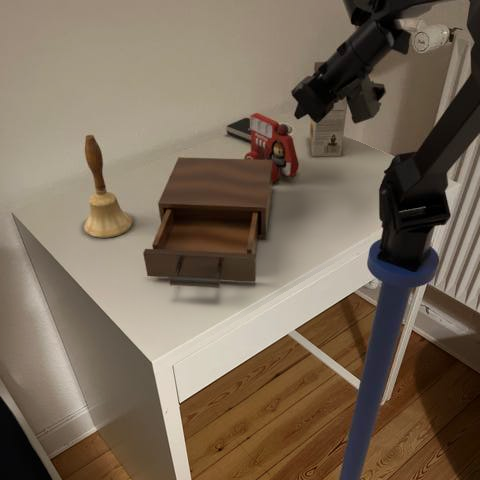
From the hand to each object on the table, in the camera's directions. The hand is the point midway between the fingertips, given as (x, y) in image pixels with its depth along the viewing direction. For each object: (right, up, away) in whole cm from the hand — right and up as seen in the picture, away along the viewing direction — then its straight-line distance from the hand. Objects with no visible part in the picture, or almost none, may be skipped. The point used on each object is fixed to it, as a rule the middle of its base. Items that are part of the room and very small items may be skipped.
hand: (296, 116), depth 88 cm
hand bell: (-33, -19, +1) cm, 38 cm away
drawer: (-15, -25, -8) cm, 31 cm away
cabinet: (-13, -16, +3) cm, 21 cm away
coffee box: (+9, +2, +22) cm, 23 cm away
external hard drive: (-7, +6, +26) cm, 28 cm away
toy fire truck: (-3, -6, +14) cm, 15 cm away
